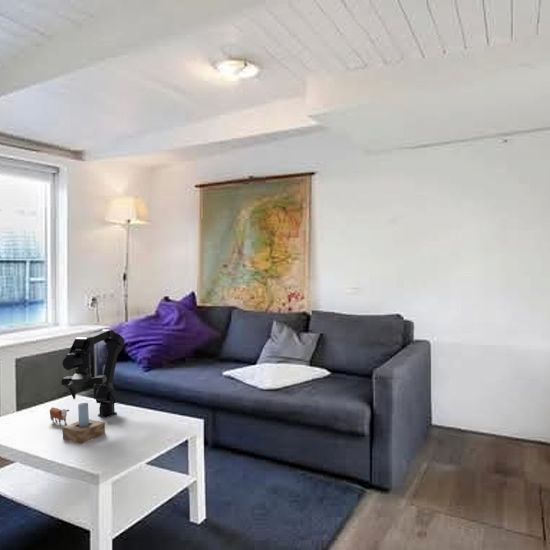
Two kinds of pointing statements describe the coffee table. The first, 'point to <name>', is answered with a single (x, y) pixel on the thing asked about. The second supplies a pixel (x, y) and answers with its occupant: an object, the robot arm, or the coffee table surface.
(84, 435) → the socket
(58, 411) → the bull figurine
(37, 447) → the coffee table surface
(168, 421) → the coffee table surface
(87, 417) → the dowel
